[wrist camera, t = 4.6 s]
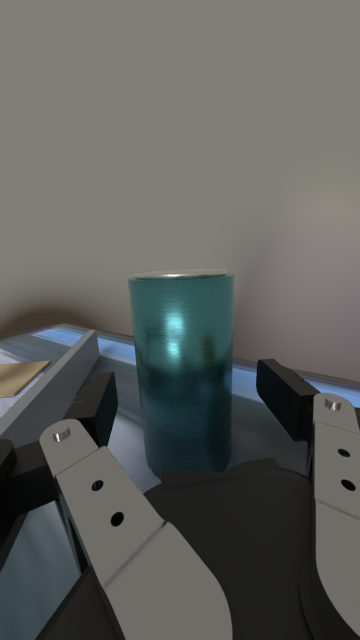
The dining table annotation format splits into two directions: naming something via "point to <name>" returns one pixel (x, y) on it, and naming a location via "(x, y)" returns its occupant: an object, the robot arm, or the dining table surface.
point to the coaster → (18, 376)
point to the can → (184, 366)
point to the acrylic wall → (50, 394)
